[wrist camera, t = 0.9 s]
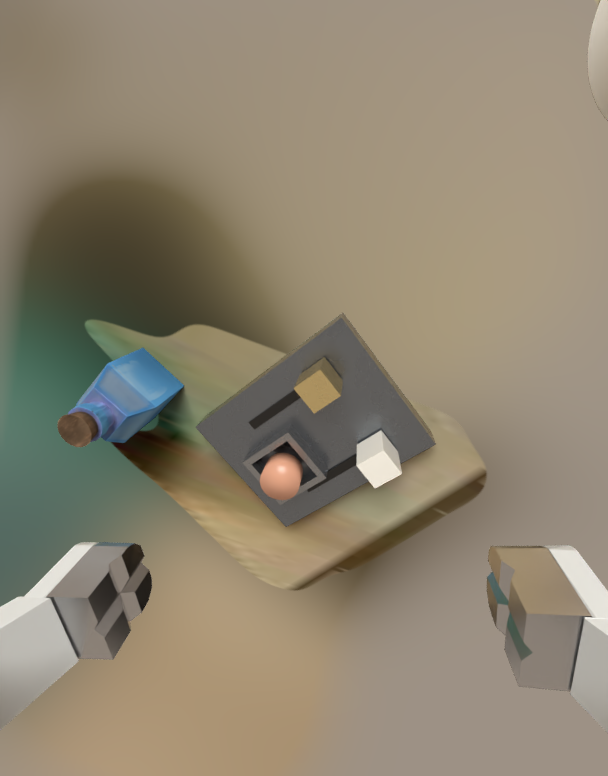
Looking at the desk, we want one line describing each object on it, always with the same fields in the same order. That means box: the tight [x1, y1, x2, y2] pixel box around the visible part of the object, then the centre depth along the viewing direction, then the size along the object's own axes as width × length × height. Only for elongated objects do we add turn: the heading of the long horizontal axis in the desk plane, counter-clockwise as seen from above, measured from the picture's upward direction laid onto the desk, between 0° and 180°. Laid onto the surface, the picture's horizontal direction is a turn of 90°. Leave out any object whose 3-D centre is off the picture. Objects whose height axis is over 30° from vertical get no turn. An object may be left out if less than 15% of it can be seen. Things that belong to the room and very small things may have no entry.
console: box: [196, 313, 436, 527], centre depth 39 cm, size 20×16×5 cm
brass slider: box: [294, 357, 343, 413], centre depth 34 cm, size 3×3×4 cm
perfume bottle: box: [58, 348, 184, 447], centre depth 37 cm, size 6×6×12 cm
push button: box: [260, 453, 303, 500], centre depth 37 cm, size 4×4×2 cm
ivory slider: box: [356, 430, 402, 488], centre depth 36 cm, size 3×3×4 cm
